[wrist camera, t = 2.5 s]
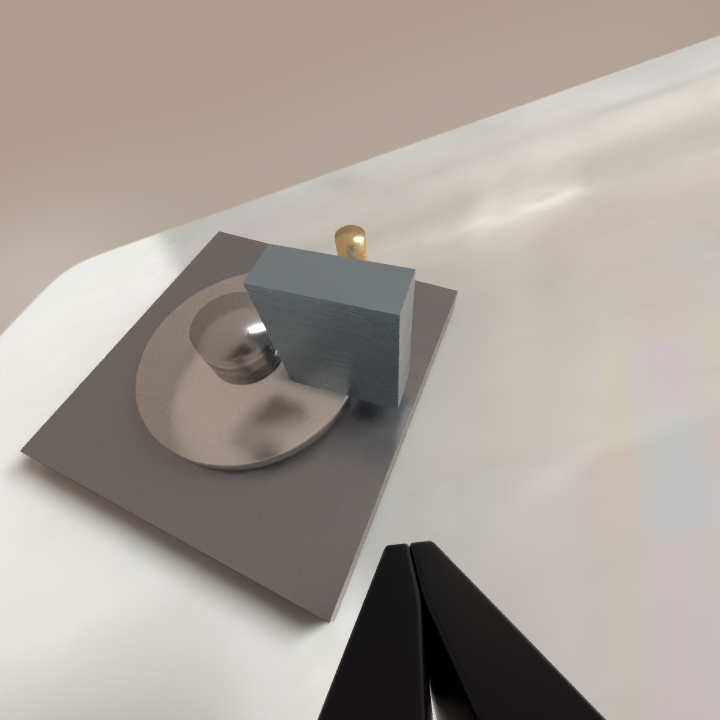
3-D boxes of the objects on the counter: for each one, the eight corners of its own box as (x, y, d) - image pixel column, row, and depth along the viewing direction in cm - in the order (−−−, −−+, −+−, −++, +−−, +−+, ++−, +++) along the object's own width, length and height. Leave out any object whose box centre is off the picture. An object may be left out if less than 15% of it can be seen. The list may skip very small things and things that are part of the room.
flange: (100, 430, 19) (-65, 342, 12) (217, 268, 25) (150, 147, 18) (366, 523, 16) (344, 473, 9) (429, 310, 21) (446, 181, 15)
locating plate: (334, 619, 15) (304, 635, 10) (43, 459, 20) (-75, 416, 15) (454, 307, 24) (470, 229, 18) (226, 247, 28) (190, 173, 23)
